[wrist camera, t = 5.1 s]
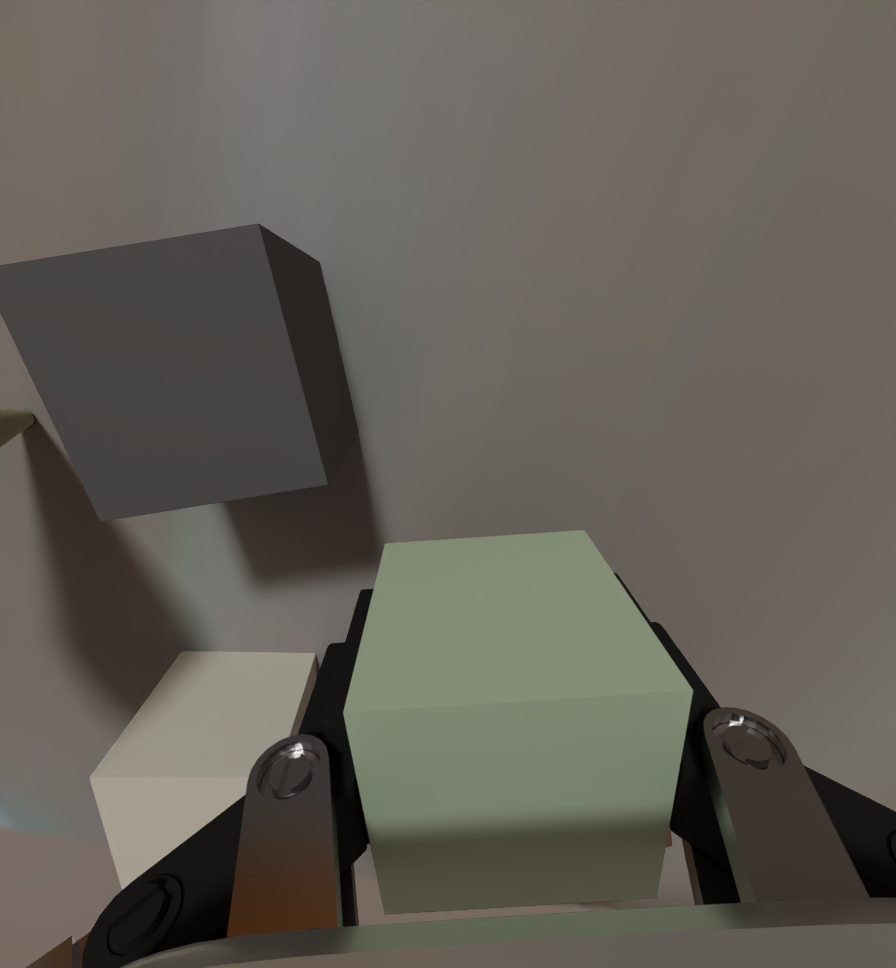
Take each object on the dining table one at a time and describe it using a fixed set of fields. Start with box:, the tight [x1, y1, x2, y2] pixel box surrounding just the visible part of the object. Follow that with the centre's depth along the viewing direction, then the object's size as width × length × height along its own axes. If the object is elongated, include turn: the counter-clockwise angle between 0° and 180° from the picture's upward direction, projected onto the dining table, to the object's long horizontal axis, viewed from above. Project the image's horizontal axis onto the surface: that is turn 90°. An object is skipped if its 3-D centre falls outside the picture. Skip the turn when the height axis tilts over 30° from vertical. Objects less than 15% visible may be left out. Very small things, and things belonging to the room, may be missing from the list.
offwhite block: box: [90, 651, 317, 890], centre depth 15 cm, size 5×5×5 cm
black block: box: [0, 224, 359, 522], centre depth 11 cm, size 5×5×5 cm
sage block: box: [343, 530, 693, 914], centre depth 9 cm, size 5×5×5 cm
